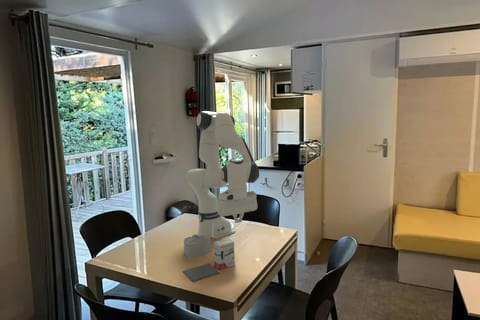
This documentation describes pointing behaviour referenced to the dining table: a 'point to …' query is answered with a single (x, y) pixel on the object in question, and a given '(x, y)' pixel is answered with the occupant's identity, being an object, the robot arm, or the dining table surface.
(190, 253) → the grey chunky block
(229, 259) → the ink box
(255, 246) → the dining table surface
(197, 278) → the mat
